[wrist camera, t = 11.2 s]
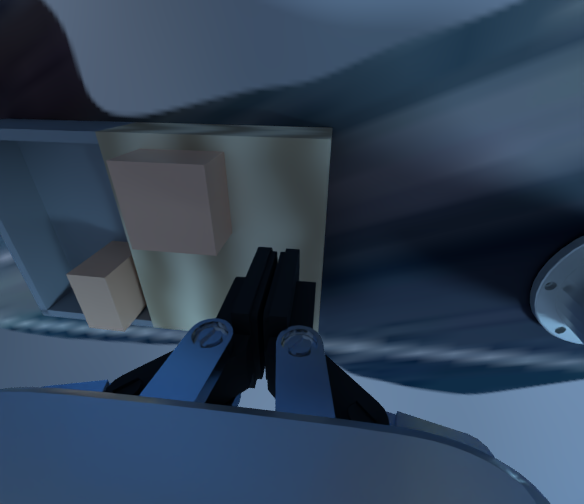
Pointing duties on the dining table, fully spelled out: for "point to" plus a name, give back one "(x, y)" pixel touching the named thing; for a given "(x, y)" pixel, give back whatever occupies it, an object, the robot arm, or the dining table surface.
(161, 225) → the tile
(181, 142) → the pale green square panel
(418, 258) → the dining table surface
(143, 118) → the dining table surface
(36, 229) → the tray
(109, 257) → the tile
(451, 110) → the dining table surface
